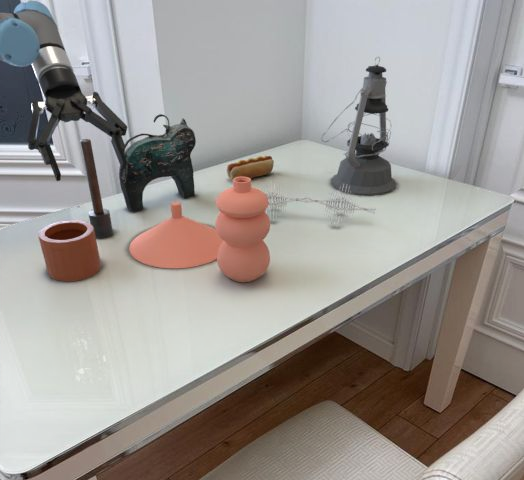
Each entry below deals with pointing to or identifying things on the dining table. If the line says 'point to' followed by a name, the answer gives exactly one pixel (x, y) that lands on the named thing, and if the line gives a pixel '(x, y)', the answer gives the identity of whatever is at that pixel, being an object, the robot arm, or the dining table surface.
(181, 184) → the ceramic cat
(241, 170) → the food
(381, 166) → the lantern
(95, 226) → the pestle
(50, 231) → the jar
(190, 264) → the ceramic vessels
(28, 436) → the dining table surface
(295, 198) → the test tube brush
